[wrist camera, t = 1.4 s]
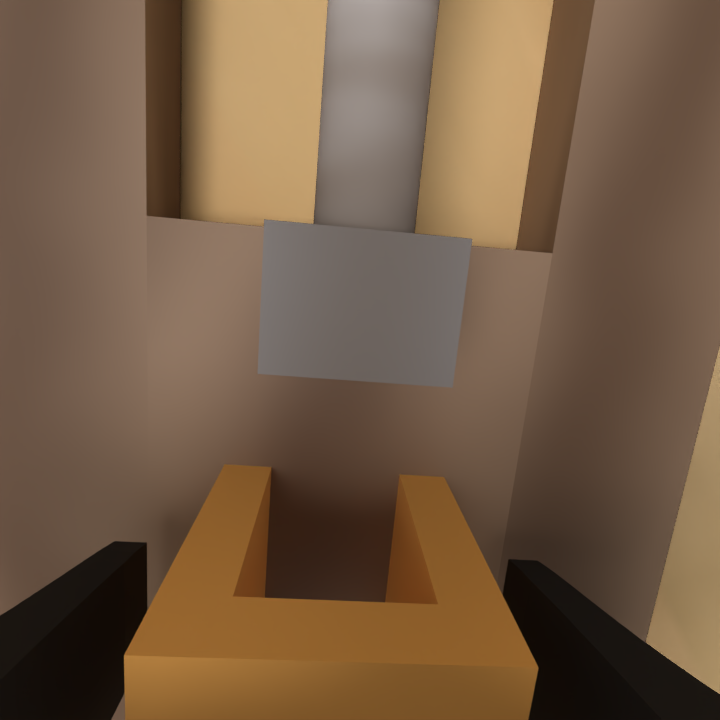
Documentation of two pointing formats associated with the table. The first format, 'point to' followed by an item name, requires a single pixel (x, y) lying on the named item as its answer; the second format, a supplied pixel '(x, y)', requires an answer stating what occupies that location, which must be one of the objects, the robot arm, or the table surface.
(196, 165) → the table surface
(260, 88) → the table surface
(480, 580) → the orange slotted block
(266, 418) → the slotted shelf
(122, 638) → the robot arm
